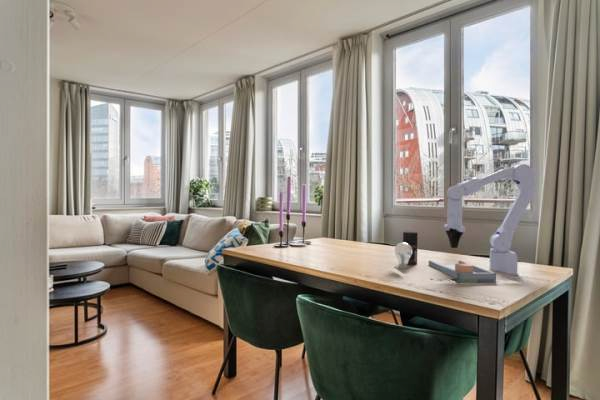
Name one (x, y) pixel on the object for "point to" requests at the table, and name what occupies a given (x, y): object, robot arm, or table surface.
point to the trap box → (475, 277)
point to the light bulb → (403, 254)
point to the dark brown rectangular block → (412, 241)
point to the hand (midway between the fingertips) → (454, 247)
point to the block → (464, 268)
